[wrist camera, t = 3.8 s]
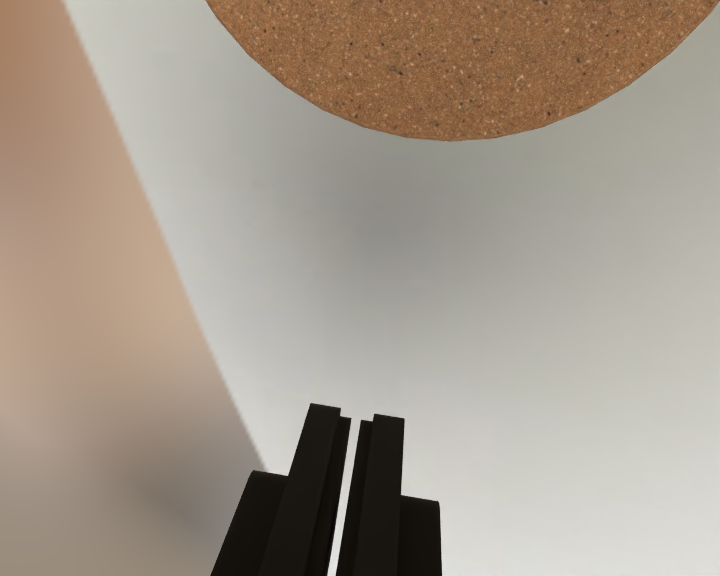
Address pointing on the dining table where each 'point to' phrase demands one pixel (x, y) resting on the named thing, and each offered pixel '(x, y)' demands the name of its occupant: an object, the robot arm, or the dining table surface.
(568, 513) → the dining table surface
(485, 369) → the dining table surface
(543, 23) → the trinket box
